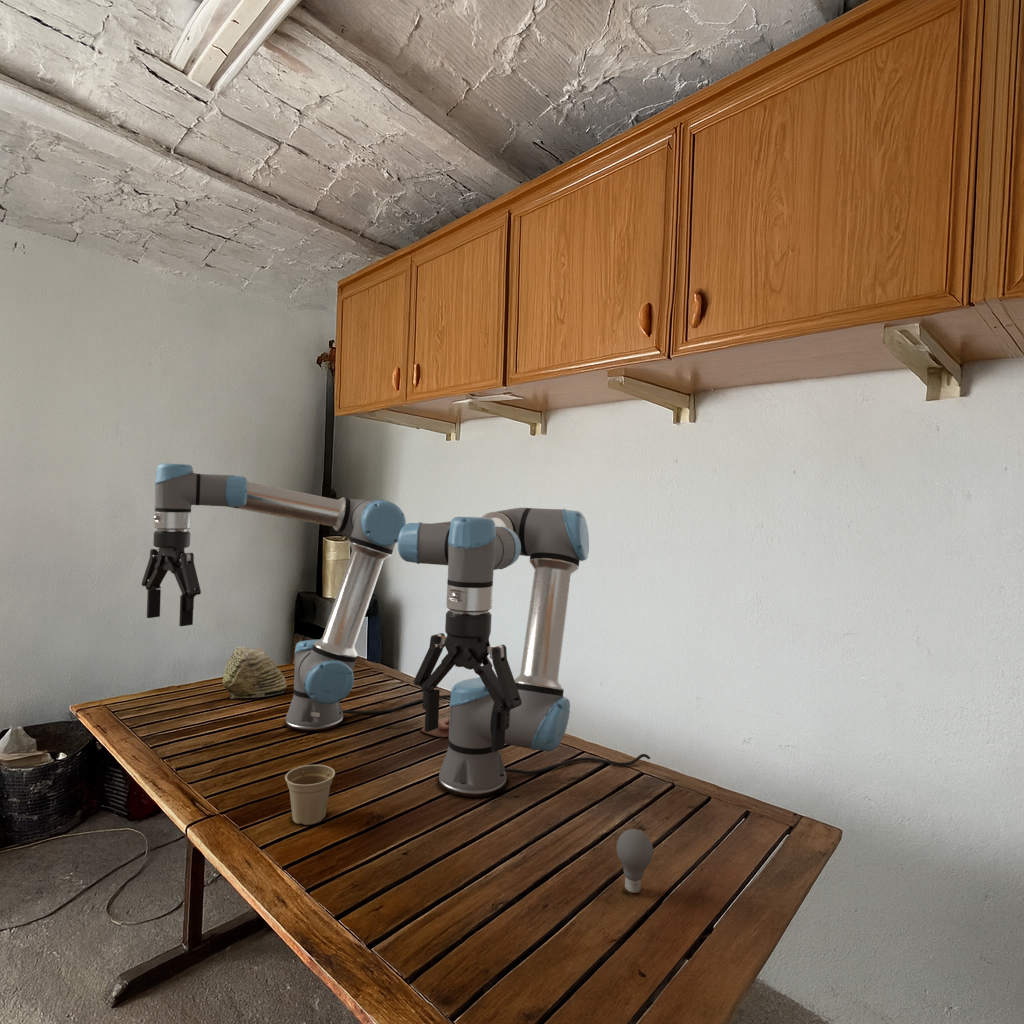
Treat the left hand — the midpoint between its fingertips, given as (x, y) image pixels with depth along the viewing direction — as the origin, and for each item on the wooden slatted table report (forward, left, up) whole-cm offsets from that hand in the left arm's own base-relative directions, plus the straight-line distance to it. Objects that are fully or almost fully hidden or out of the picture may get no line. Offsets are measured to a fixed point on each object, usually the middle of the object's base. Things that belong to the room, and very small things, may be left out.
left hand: (169, 621), depth 147 cm
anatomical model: (-61, +33, -33) cm, 76 cm away
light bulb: (-30, +106, -33) cm, 115 cm away
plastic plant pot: (-8, +47, -33) cm, 57 cm away
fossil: (-40, -31, -33) cm, 60 cm away
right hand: (-12, +83, -8) cm, 85 cm away
